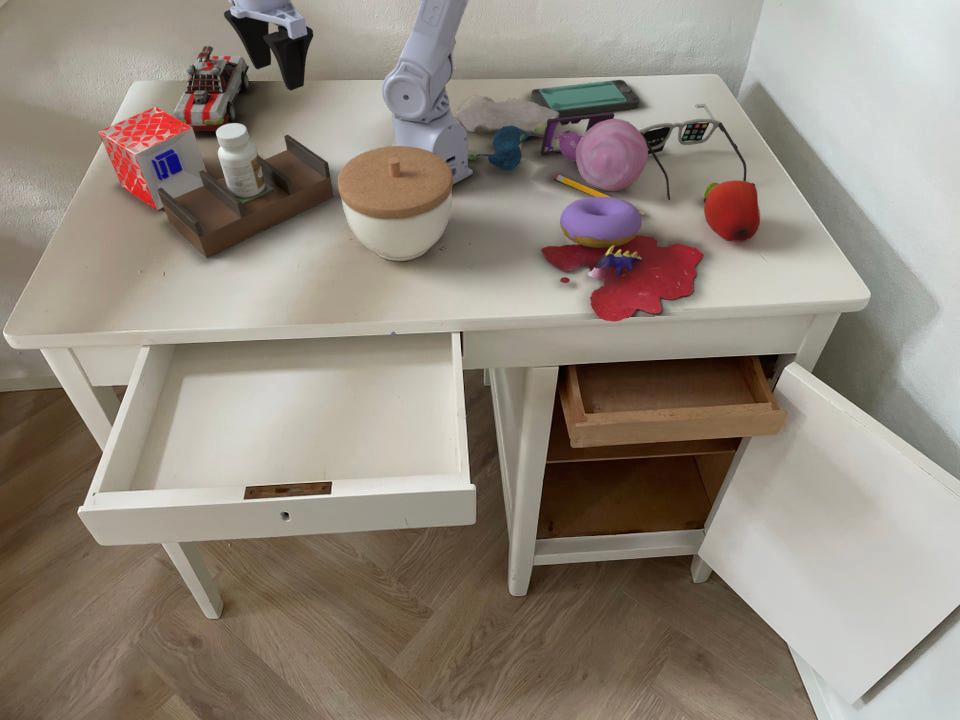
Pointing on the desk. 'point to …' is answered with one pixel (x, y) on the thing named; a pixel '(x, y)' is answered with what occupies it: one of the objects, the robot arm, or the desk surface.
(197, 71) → the toy car
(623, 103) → the smartphone
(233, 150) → the pill bottle
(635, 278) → the red splat with dinosaur
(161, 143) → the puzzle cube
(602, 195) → the pencil
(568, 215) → the donut
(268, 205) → the divided wooden tray
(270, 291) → the desk surface
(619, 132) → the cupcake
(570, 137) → the purple rectangular frame
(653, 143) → the smart glasses
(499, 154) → the blue flowers
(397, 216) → the lidded bowl
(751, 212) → the apple
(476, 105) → the stone
